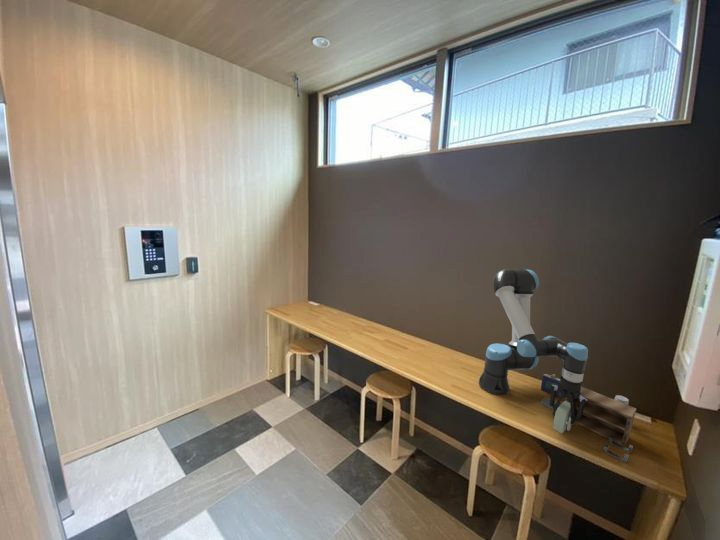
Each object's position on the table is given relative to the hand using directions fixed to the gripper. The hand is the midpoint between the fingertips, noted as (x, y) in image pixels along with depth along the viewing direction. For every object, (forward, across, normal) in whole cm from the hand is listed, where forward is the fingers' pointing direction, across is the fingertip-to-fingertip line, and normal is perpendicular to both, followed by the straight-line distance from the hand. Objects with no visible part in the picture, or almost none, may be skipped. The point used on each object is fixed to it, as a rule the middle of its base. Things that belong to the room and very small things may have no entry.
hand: (561, 425), depth 132 cm
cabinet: (0, +9, +12) cm, 15 cm away
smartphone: (+1, -6, +14) cm, 15 cm away
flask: (0, -13, +25) cm, 28 cm away
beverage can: (0, +14, +26) cm, 30 cm away
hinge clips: (0, +19, +2) cm, 19 cm away
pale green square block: (0, 0, 0) cm, 0 cm away
